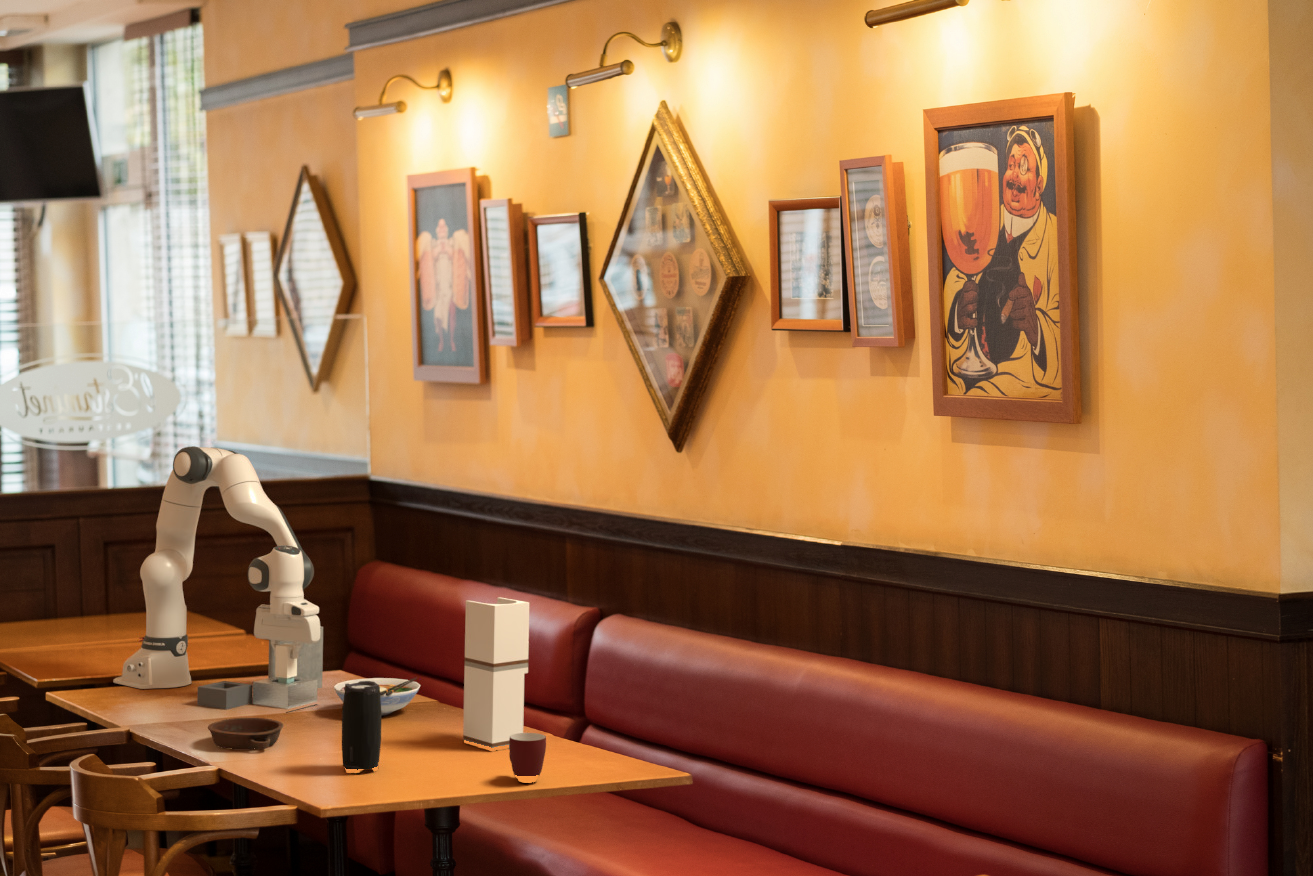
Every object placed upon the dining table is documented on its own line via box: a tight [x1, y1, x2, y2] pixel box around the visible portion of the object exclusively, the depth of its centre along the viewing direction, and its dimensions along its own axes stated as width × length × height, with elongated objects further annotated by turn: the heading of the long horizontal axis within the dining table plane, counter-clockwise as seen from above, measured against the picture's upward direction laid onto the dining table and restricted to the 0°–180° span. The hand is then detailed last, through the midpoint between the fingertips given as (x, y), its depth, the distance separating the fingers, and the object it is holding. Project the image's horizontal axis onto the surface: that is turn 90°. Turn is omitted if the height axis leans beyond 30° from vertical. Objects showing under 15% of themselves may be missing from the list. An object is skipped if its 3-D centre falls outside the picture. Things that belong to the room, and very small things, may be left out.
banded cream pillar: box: [462, 597, 530, 748], centre depth 362 cm, size 11×11×35 cm
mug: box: [508, 732, 547, 776], centre depth 329 cm, size 11×8×10 cm
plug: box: [275, 643, 297, 683], centre depth 402 cm, size 4×4×10 cm
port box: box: [252, 676, 318, 714], centre depth 402 cm, size 12×12×7 cm
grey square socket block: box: [196, 680, 253, 711], centre depth 398 cm, size 10×10×6 cm
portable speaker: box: [341, 681, 382, 770], centre depth 335 cm, size 9×9×20 cm
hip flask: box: [267, 625, 324, 689], centre depth 425 cm, size 16×4×20 cm, turn 125°
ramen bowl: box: [333, 677, 421, 717], centre depth 396 cm, size 25×23×8 cm
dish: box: [207, 717, 284, 750], centre depth 357 cm, size 18×22×5 cm
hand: (286, 657), depth 402 cm, fingers closed on plug, 4 cm apart
